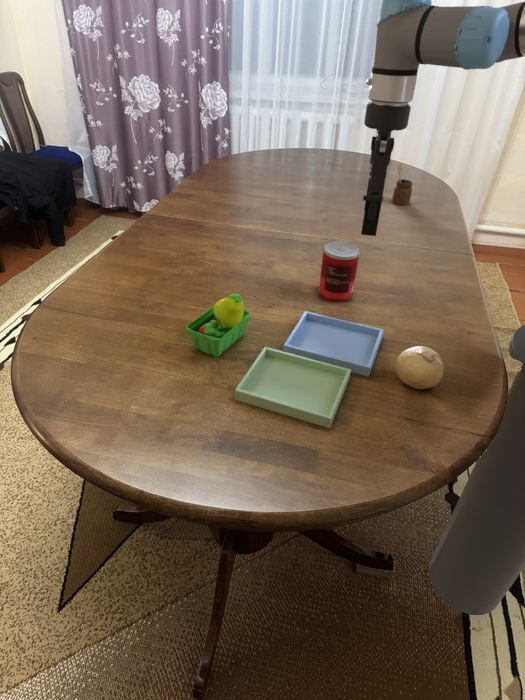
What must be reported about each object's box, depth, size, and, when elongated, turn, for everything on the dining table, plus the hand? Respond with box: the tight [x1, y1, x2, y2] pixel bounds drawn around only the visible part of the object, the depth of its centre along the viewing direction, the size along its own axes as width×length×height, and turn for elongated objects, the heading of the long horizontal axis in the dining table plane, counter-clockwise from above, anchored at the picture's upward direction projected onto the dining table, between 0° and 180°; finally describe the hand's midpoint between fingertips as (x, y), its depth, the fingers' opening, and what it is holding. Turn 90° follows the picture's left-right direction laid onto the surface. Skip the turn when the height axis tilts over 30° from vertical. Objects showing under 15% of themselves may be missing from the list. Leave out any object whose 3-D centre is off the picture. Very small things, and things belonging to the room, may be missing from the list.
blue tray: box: [282, 310, 385, 378], centre depth 89 cm, size 16×13×2 cm
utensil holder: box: [391, 163, 416, 206], centre depth 155 cm, size 6×6×12 cm
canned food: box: [318, 241, 360, 303], centre depth 103 cm, size 8×8×11 cm
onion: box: [395, 345, 445, 390], centre depth 80 cm, size 8×8×7 cm
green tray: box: [234, 346, 352, 429], centre depth 79 cm, size 16×13×2 cm
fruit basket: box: [185, 293, 252, 358], centre depth 86 cm, size 11×9×11 cm
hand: (369, 222), depth 93 cm, fingers open, 13 cm apart
